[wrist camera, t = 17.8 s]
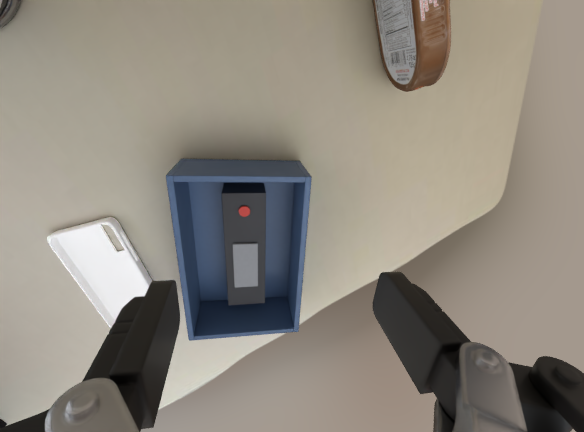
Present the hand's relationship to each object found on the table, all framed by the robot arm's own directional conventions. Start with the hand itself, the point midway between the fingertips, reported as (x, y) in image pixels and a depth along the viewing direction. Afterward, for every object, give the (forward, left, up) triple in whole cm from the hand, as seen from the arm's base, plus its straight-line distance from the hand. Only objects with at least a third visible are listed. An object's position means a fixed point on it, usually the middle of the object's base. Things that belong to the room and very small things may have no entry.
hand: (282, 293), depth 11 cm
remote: (-2, -10, -22) cm, 25 cm away
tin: (+12, +15, -23) cm, 30 cm away
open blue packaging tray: (-2, -10, -23) cm, 25 cm away
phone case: (-18, -15, -23) cm, 33 cm away
